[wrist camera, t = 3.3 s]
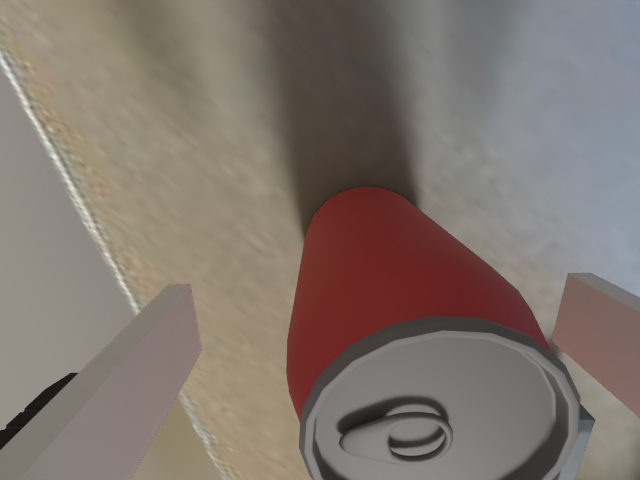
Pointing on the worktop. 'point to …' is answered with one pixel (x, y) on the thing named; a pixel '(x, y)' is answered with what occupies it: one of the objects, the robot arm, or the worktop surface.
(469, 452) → the beer can
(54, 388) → the robot arm
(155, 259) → the worktop surface
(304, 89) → the worktop surface
